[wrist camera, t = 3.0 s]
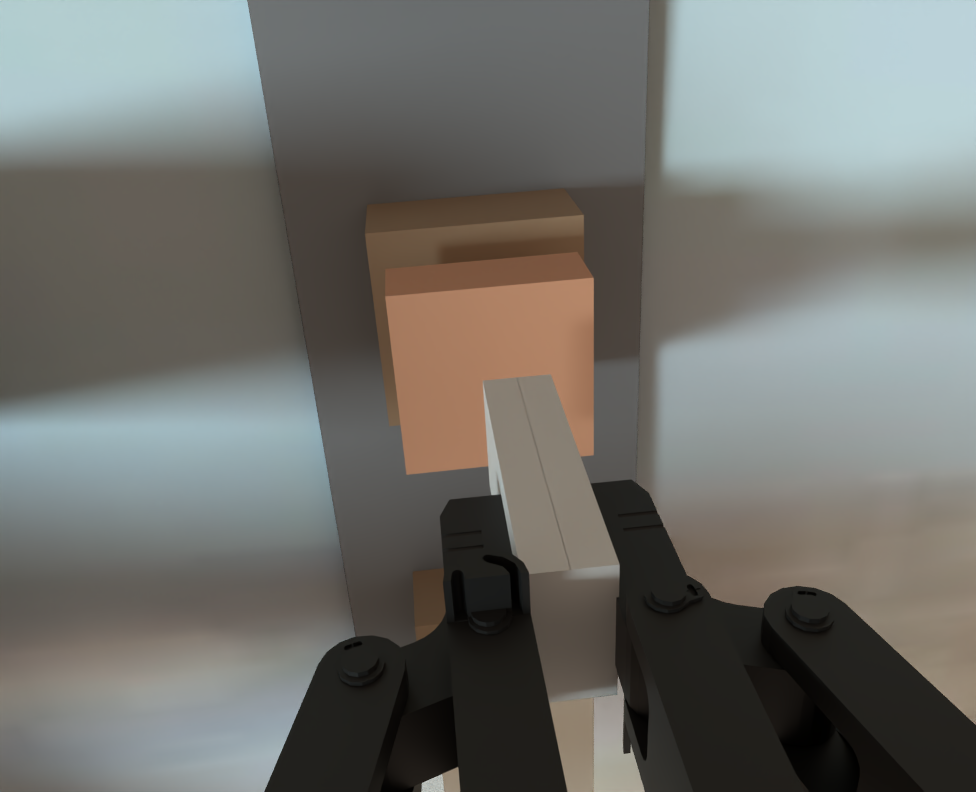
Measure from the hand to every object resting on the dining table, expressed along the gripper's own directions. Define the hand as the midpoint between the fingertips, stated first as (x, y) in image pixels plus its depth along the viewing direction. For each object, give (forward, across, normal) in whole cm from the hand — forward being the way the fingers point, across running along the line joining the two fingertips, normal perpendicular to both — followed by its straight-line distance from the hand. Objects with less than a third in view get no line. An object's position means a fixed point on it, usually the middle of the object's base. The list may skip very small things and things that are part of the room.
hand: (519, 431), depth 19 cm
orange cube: (+8, 0, 0) cm, 8 cm away
